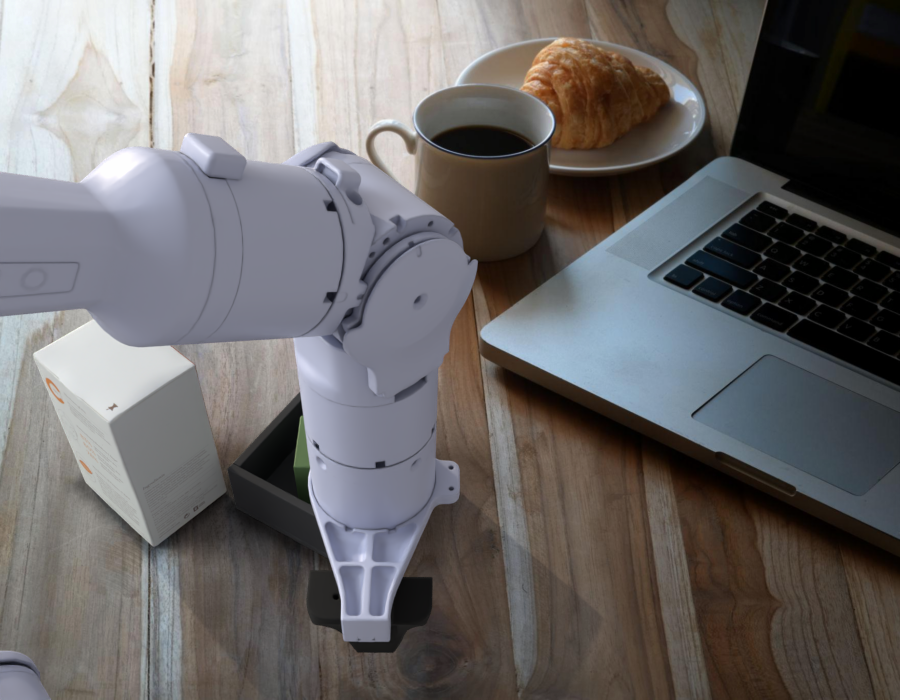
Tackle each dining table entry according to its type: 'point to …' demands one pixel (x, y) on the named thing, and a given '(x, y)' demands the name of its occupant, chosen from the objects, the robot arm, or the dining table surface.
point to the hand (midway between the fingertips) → (379, 578)
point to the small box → (135, 427)
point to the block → (302, 464)
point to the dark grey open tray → (276, 481)
